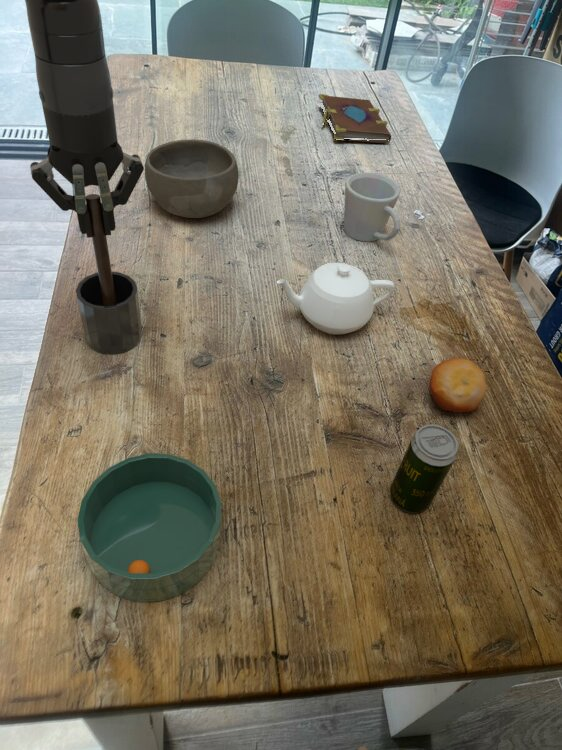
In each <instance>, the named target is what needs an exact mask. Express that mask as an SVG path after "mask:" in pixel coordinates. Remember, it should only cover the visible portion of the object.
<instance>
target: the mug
mask: <svg viewBox="0 0 562 750" xmlns="http://www.w3.org/2000/svg"><path fill="white" fill-rule="evenodd" d="M344 187H345V188H344V211H343V212H344V215H343V228H344V229H343V230H344V232H345V234H346V235H347V236H349V238H352V239H353V240H355V241H360V242H365V243H366V242H369V243H370V242H375V241H376V240H382V241H390V240H393V239H394V238H395V237H396V236H397V235H398V233H399V231H400V229H401V220H400V217H399V214H398V213H397V211H396V210H395V206H396V204H397V201H398V200H399V196H400V195H401V188H400V186H399V185H398V183H397V182H396V181H394V180H393V179H392V178H390V177H388V176H385V175H383V174H380V173H375V172H367V171H365V172H357V173H354V174H351V175H349V176H348V177H347V179H346V180H345V186H344ZM390 217H391V218H392V222H393V228H392V230H391V231H390V232H389V233H386V234H385V233H383V232H384V230H385V228H386V226H387V224H388V222H389V219H390Z"/></svg>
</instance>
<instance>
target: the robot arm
mask: <svg viewBox="0 0 562 750" xmlns="http://www.w3.org/2000/svg"><path fill="white" fill-rule="evenodd" d="M24 1H25V2H24V3H25V7H26V17H27V22H28V27H29V32H30V37H31V42H32V47H33V53H34V58H35V74H36V75H35V76H36V80H37V81H36V82H37V86H38V95H39V99H40V101H41V105H42V112H43V117H44V122H45V126H46V131H47V137H48V142H49V147H48V149H47V157H46V158H44V159H43V160H41V161H39V162H38V161H33V162H31V163H30V166H29V167H30V174H31V179H32V180H33V182H35V183H36V185H38V187H40V189H41V190H42V191H43V192H44V193H45V194H46V195H47V196H48V197H49V198H50V199H51V200H52V201H53V202H54V204H56V206H58V208H59V209H60V210H61V211H62V212H68V211H74V213H76V217H77V222H78V227H79V232H80V233H81V235H86V239H89V238H92V237H93V236H92V230H91V223H90V217H89V212H88V209H87V205H86V199H85V197H86V187H89V186H97V188H98V192H99V196H100V199H101V206H102V215H103V221H104V228H105V234H106V237H107V236H112V232H113V231H115V229H116V220H115V211H114V210H115V208H116V207H117V206H119V205H120V206H125V205H127V203H128V201H129V199H130V197H131V195H132V193H133V191H134V190H135V188H136V186H137V184H138V182H139V180H140V178H141V176H142V174H143V172H144V171H145V166H144V165H143V161H142V159H141V157H140V156H139V155H138V154H132V155H130V154H128V153H126V152H125V151H123V148H122V146H121V145H120V144H119V142H118V133H117V132H118V131H117V125H116V123H117V122H116V116H115V106H114V105H115V104H114V89H113V87H112V80H111V72H110V69H109V65H108V61H107V55H106V47H105V40H104V30H103V22H102V14H101V9H100V5H99V1H98V0H24ZM120 165H121V168H122V171H123V172H122V174H121V176H120V177H119V180H118V182H117V184H116V186H115V187H114V189H113V191H111V187H110V183H109V181H110V180H111V179H112V177H113V176H114V174H115V173H116V172H117V170H118V169H119V166H120ZM53 169H55V170H56V171H57V172H58V173H59V174H60V175H61V176H62V177H63V178H64V179H65V180H66V181H67V182H69V183H70V184H71V187H72V194H68V193H67V191H65V189H63V187H62V186H61V185H59V183H58V182H57V181H56V180H55V176H54V170H53Z"/></svg>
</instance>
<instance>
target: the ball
mask: <svg viewBox="0 0 562 750" xmlns="http://www.w3.org/2000/svg"><path fill="white" fill-rule="evenodd" d="M127 572H129V573H150V567H149V565H148V563H147V562H145V561H143V560H136V561H134V562H132V563H131V564H130V566H129V567H128V571H127Z"/></svg>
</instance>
